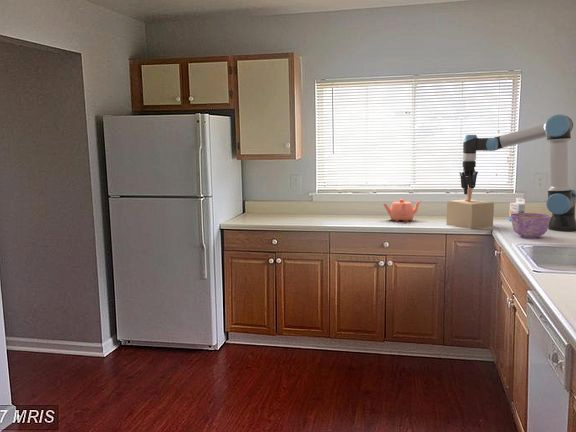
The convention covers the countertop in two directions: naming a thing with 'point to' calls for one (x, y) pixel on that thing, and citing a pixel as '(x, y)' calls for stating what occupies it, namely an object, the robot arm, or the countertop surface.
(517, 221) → the purple speckled bowl
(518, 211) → the ink box
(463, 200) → the flap
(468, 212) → the carton
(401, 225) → the countertop surface
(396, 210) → the teapot
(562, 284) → the countertop surface
